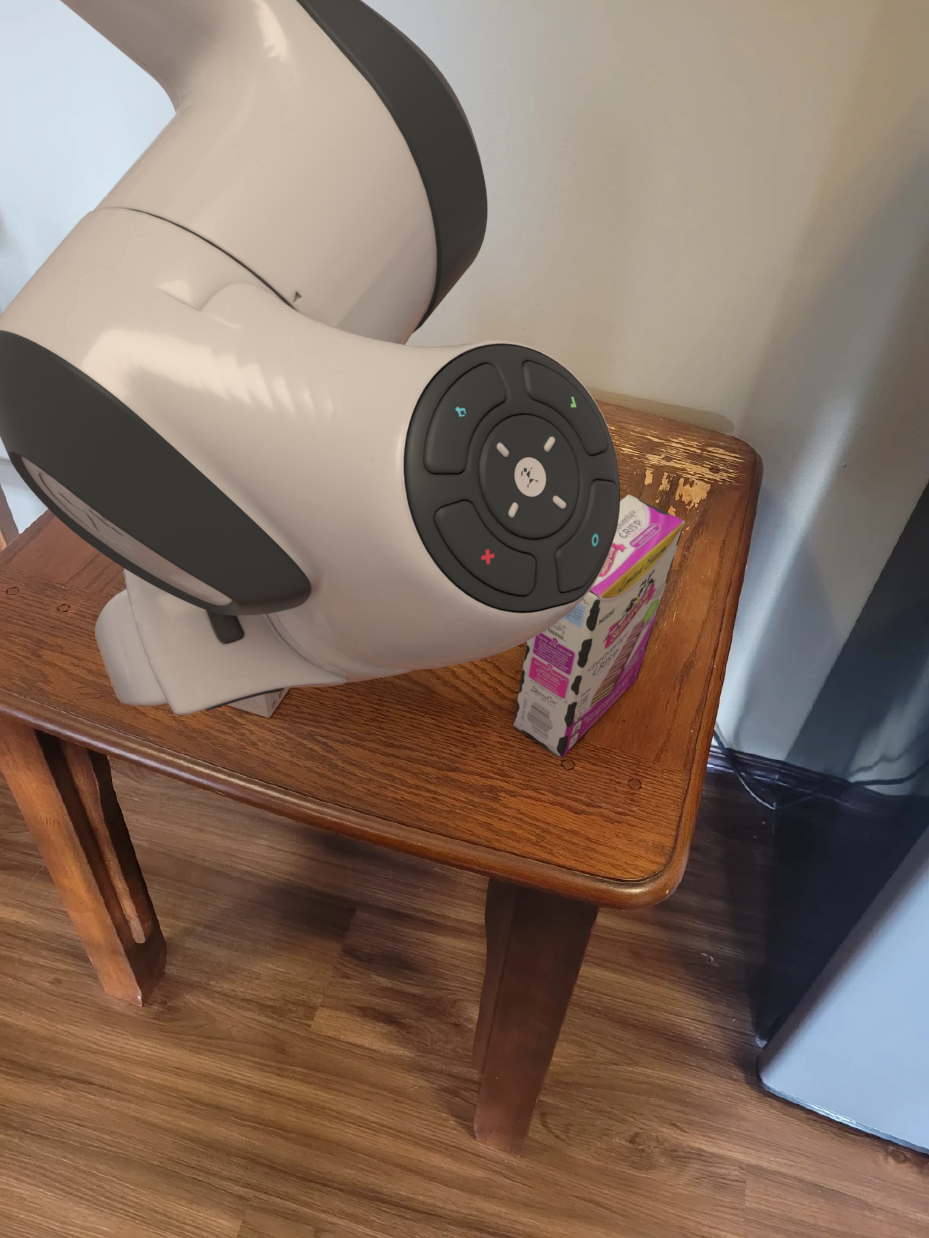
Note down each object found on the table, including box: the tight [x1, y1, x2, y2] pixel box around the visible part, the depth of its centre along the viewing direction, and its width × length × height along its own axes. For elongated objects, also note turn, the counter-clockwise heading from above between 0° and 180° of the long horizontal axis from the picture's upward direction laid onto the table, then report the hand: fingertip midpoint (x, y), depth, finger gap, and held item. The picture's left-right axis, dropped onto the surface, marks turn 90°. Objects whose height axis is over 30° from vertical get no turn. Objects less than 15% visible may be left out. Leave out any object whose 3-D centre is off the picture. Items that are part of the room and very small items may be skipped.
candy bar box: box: [512, 494, 686, 759], centre depth 61 cm, size 11×5×16 cm, turn 140°
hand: (285, 615), depth 48 cm, fingers open, 8 cm apart
